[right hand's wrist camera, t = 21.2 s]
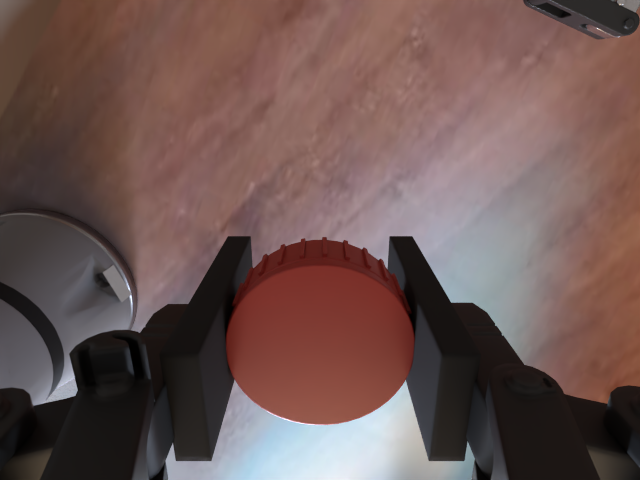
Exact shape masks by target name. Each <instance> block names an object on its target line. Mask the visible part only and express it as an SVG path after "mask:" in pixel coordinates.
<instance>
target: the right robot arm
mask: <svg viewBox="0 0 640 480" xmlns="http://www.w3.org/2000/svg"><path fill="white" fill-rule="evenodd" d="M251 267H252V252H251V236H228V237H227V239H226V241H225V243H224V244H223V246H222V248H221V249H220V251H219V253H218V254H217V256H216V258H215V260H214V261H213V263H212V265H211V266H210V268H209V270H208V272H207V273H206V275H205V277H204V278H203V280H202V282H201V284H200V285H199V287H198V289H197V290H196V292H195V294H194V295H193V297H192V299H191V301H190V302H189V304H168V305H166V306H165V307H163V308H162V309H160V310H159V311H157V312H156V313H154V314H153V315H152V317H151V318H150V320H149V321H148V323H147V324H146V327H145V328H143V330H142V331H141V332H140V333H139V332H136V331H131V328H132V326H133V323H134V320H135V317H136V312H137V293H136V287H135V284H134V280H133V277H132V275H131V272H130V270H129V268H128V266H127V264H126V263H125V261H124V260H123V258H122V257H121V255H120V254H119V253H118V251H117V250H116V249H115V248H114V247H113V246H112V245H111V244H110V243H109V242H108V241H107V240H106V239H105V238H104V237H103V236H102V235H100V234H99V233H98V232H96V231H95V230H93V229H92V228H90V227H89V226H87V225H86V224H84V223H82V222H80V221H78V220H76V219H74V218H71V217H69V216H66V215H63V214H60V213H56V212H52V211H46V210H37V209H23V210H15V211H10V212H6V213H3V214H0V480H168V474H167V468H166V462H165V460H166V458H167V455H168V453H169V450H170V448H171V445H172V443H173V445H174V451H175V458H176V461H211V460H212V457H213V453H214V450H215V446H216V443H217V439H218V436H219V432H220V429H221V425H222V422H223V418H224V415H225V411H226V408H227V404H228V400H229V397H230V393H231V390H232V386H233V383H234V377H233V375H232V373H231V370H230V368H229V365H228V361H227V351H226V332H227V327H228V321H229V319H230V316H231V313H232V311H233V308H234V307H233V306H232V303H233V301H234V298H235V296H236V293H237V291H238V288H239V285H240V283H243V284H244V282H245V280H246V277H247V274H248V272H249V269H250V268H251ZM388 271H389V272H390V273H391V274H393V273H394V274H395V275H396V278H397V280H398V283H399V286H400V288H401V290H402V289H403V292H404V294H405V297H406V299H407V302H408V304H409V307H410V310H411V312H412V313H411V314H409V316H410V319H411V322H412V325H413V329H414V334H415V342H414V354H413V363H412V367H411V369H410V372H409V374H408V376H407V378H406V382H407V386H408V389H409V393H410V396H411V400H412V403H413V407H414V410H415V414H416V417H417V421H418V424H419V428H420V431H421V435H422V438H423V442H424V445H425V449H426V452H427V456H428V459H429V461H464V459H465V453H466V447H467V441H468V443H469V445H470V448H471V450H472V452H473V455H474V457H475V462H474V468H473V474H472V480H640V387H637V386H622V387H617V388H616V389H615V390H613V391H612V392H611V394H610V397H609V400H608V404H605V403H600V402H596V401H591V400H586V399H582V398H577V397H573V396H569V395H566V394H564V393H563V391H562V389H561V387H560V386H559V385H558V383H557V382H556V381H555V380H554V379H553V378H551V377H550V376H549V375H547V374H546V373H544V372H542V371H540V370H538V369H536V368H533V367H531V366H526V365H524V364H523V362H522V361H521V360H520V358H519V357H518V355H517V354H516V353H515V351H514V350H513V348H512V347H511V346H510V344H509V343H508V341H507V340H506V339H505V337H504V336H502V333H501V332H500V330H499V329H498V327H497V326H495V323H494V322H493V320H492V319H491V318H490V316H489V315H488V313H487V312H485V311H484V310H482V309H481V308H479V307H478V306H476V305H475V304H473V303H451V302H450V300H449V298H448V297H447V295H446V293H445V292H444V290H443V288H442V286H441V285H440V283H439V281H438V280H437V278H436V276H435V275H434V273H433V271H432V269H431V268H430V266H429V264H428V263H427V261H426V259H425V257H424V256H423V254H422V252H421V251H420V249H419V247H418V245H417V244H416V242H415V240H414V239H413V237H412V236H390V239H389V256H388ZM74 378H75V380H76V384H77V388H78V391H77V394H76V396H74V397H70V398H67V399H63V400H58V401H53V402H48V403H44V402H45V400H46V399H47V398H48V397H49V396H50V395H51V394H52V392H53V391H54V390H55V389H56V388H58V387H60V386H62V385H63V384H65V383H67V382H69V381H70V380H72V379H74ZM43 403H44V404H43Z"/></svg>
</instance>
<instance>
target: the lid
mask: <svg viewBox="0 0 640 480" xmlns="http://www.w3.org/2000/svg"><path fill="white" fill-rule="evenodd" d="M232 306H233V307H234V308H233V311H232V313H231V316H230V319H229V321H228V327H227V332H226V351H227V361H228V365H229V368H230V370H231V373H232V375H233V377H234V379H235V381H236V382H237V384H238V386H239V387H240V388H241V389H242V391H243V392H244V393H245V394H246V395H247V396H248V397H249V398H250V399H251V400H252V401H253V402H254V403H256V404H257V405H258V406H260V407H261V408H263V409H264V410H266V411H268V412H269V413H271V414H273V415H276V416H278V417H280V418H283V419H286V420H289V421H292V422H297V423H302V424H310V425H330V424H339V423H343V422H348V421H351V420H355V419H358V418H360V417H363V416H365V415H367V414H369V413H371V412H373V411H374V410H376V409H378V408H379V407H381V406H382V405H383V404H385V403H386V402H387V401H389V400H390V399H391V398H392V397H393V396H394V395H395V394H396V392H397V391H398V390H399V389H400V387H401V386H402V385H403V383H404V381H405V380H406V378H407V376H408V374H409V372H410V369H411V367H412V363H413V354H414V342H415V334H414V329H413V325H412V322H411V319H410V316H409V314H411V313H412V312H411V310H410V307H409V304H408V302H407V299H406V297H405V294H404V292H403V289H402V290H401V288H400V286H399V283H398V280H397V278H396V275H395V274H394V273H393V274H391V273H390V272H389V271H388V270H387V268H386V267H385V265H384V262H383V260H382V259H380V260H379V261H378V260H377V259H376V258H374V257H373V256H372V255H370V254H369V253H368V251H367V249H366V248H363V249H360V248H357V247H355V246H352V245H349V244H348V241H346V240H344V241H343V243H342V242H338V241H330V240H327V237H323V238H322V240H310V241H306V240H305V238H304V239H301V242H299V243H295V244H291V245H288V246H285V244H283V245H281V248H280V249H279V250H277V251H275V252H273V253H272V254H270V255H269V256H268V255H267V254H265V255H264V256H263V258H262V261H261V262H260V263H259V264H258V265H257V266H256V267H255V268H252V267H251V268H250V269H249V272H248V274H247V277H246V280H245V282H244V284H243V283H240V285H239V288H238V291H237V293H236V296H235V298H234V301H233V303H232Z"/></svg>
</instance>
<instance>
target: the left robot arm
mask: <svg viewBox="0 0 640 480" xmlns="http://www.w3.org/2000/svg"><path fill="white" fill-rule="evenodd" d="M523 1H524V3H525V5H526V6H528V7H530V8H532V9H534V10H536V11H538V12H540V13H542V14H544V15H547V16H549V17H551V18H553V19H555V20H557V21H559V22H561V23H564V24H566V25H568V26H570V27H572V28H574V29H576V30H578V31H580V32H583V33H585V34H587V35H589V36H591V37H593V38H595V39H605V38H614V37H620V36H626V35H630V34H632V33H633V32H634V31H635V30H636V29H637V27H638V25H639V16H638V14H637V13H636V11H637V9H638V8H639V6H640V0H523Z"/></svg>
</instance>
